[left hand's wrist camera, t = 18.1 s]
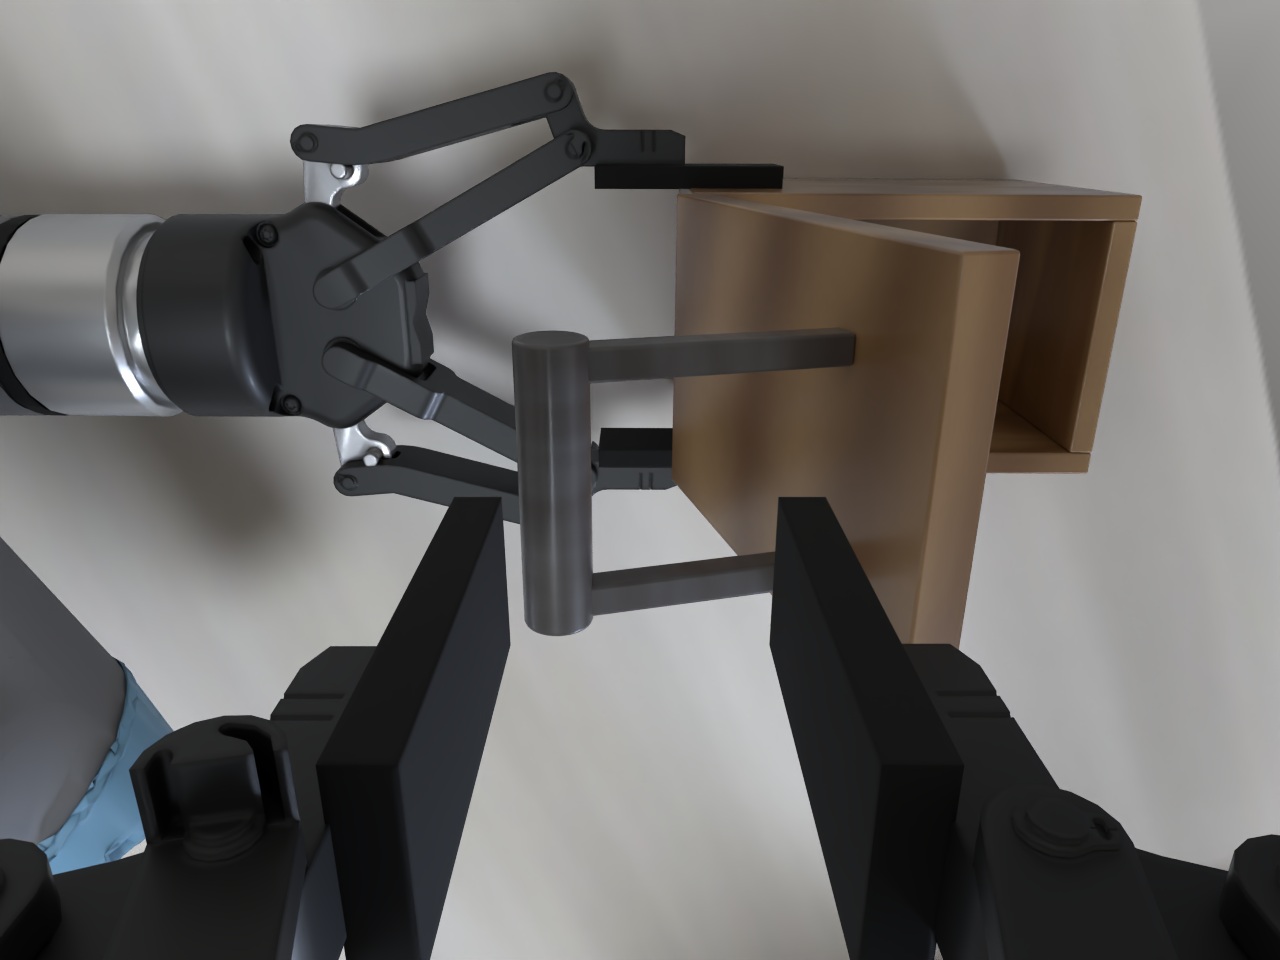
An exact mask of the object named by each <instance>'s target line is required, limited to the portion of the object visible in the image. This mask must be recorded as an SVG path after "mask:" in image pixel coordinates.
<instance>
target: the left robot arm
mask: <svg viewBox="0 0 1280 960" xmlns="http://www.w3.org/2000/svg"><path fill="white" fill-rule="evenodd" d="M509 648H510V629H509V612H508V596H507V579H506V562H505V545H504V528H503V511H502V497H454V498H453V500H452V502H451V504H450V506H449V508H448V510H447V512H446V514H445V516H444V518H443V520H442V522H441V524H440V525H439V527H438V529H437V531H436V533H435V535H434V537H433V539H432V541H431V543H430V545H429V547H428V549H427V551H426V552H425V554H424V556H423V558H422V560H421V562H420V564H419V566H418V568H417V570H416V572H415V574H414V576H413V578H412V580H411V581H410V583H409V585H408V587H407V589H406V591H405V593H404V595H403V597H402V599H401V601H400V603H399V605H398V607H397V608H396V610H395V612H394V614H393V616H392V618H391V620H390V622H389V624H388V626H387V628H386V630H385V632H384V634H383V636H382V637H381V639H380V641H379V643H378V645H377V646H330V647H329V648H328V649H326V650H325V651H323V652H322V653H321V654H319V655H318V656H317V657H315V658H314V659H313V660H311V661H310V662H308V663H307V664H306V665H304V666H303V667H302V668H300V670H299V671H298V673H297V675H296V676H295V678H294V679H293V681H292V682H291V684H290V685H289V687H288V689H287V690H286V692H285V693H284V699H280V701H279V703H278V704H277V706H276V707H275V709H274V710H273V712H272V714H271V718H270V720H267V719H263V718H259V717H256V716H252V715H241V716H221V717H217V718H212V719H208V720H203V721H199V722H195V723H192V724H190V725H188V726H185V727H183V728H181V729H178V730H176V731H174V732H171V733H169V734H167V735H165V736H164V737H162V738H161V739H160V740H158V741H157V742H155V743H154V744H153V745H151V746H150V747H148V748H147V749H145V750H144V751H143V752H142V753H141V755H140V756H139V757H138V758H137V760H136V761H135V762H134V764H133V765H132V766H131V768H130V769H129V773H130V777H131V781H132V785H133V789H134V793H135V798H136V802H137V806H138V810H139V814H140V818H141V822H142V826H143V830H144V834H145V838H146V842H147V846H146V848H145V851H144V852H143V853H139V854H136V855H133V856H130V857H126V858H123V859H120V860H115V861H111V862H107V863H102V864H98V865H94V866H89V867H85V868H80V869H76V870H72V871H67V872H63V873H59V874H54V875H53V874H52V871H51V867H50V864H49V861H48V858H47V854H45V853H44V852H43V851H42V850H41V849H40V848H39V847H38V846H37V845H35V844H34V843H33V842H27V841H22V840H16V839H11V838H8V839H0V960H338V959H339V957H340V954H341V951H342V949H343V946H344V949H345V956H346V960H430V957H431V953H432V949H433V945H434V942H435V938H436V934H437V930H438V926H439V922H440V918H441V914H442V910H443V906H444V902H445V899H446V895H447V891H448V887H449V883H450V879H451V875H452V871H453V867H454V863H455V859H456V856H457V852H458V848H459V844H460V840H461V836H462V832H463V828H464V824H465V820H466V816H467V813H468V809H469V805H470V801H471V797H472V793H473V789H474V785H475V781H476V777H477V773H478V770H479V766H480V762H481V758H482V754H483V750H484V746H485V742H486V738H487V734H488V730H489V727H490V723H491V719H492V715H493V711H494V707H495V703H496V699H497V695H498V691H499V687H500V684H501V680H502V676H503V672H504V668H505V664H506V660H507V656H508V652H509ZM770 648H771V652H772V656H773V660H774V664H775V668H776V672H777V676H778V680H779V684H780V687H781V691H782V695H783V699H784V703H785V707H786V711H787V715H788V719H789V723H790V727H791V730H792V734H793V738H794V742H795V746H796V750H797V754H798V758H799V762H800V766H801V770H802V773H803V777H804V781H805V785H806V789H807V793H808V797H809V801H810V805H811V809H812V813H813V816H814V820H815V824H816V828H817V832H818V836H819V840H820V844H821V848H822V852H823V856H824V859H825V863H826V867H827V871H828V875H829V879H830V883H831V887H832V891H833V895H834V899H835V902H836V906H837V910H838V914H839V918H840V922H841V926H842V930H843V934H844V938H845V942H846V945H847V949H848V953H849V957H850V960H934V956H935V949H936V943H937V944H938V947H939V950H940V952H941V955H942V958H943V960H1280V835H1272V834H1271V835H1266V836H1260V837H1255V838H1249V839H1247V840H1246V841H1245V842H1244V843H1243V844H1241V845H1240V846H1239V847H1238V848H1237V849H1236V850H1235V851H1234V854H1233V858H1232V861H1231V864H1230V867H1229V871H1225V870H1221V869H1216V868H1212V867H1207V866H1203V865H1199V864H1194V863H1190V862H1185V861H1181V860H1177V859H1172V858H1168V857H1163V856H1160V855H1157V854H1153V853H1150V852H1146V851H1143V850H1140V849H1137V848H1135V847H1134V844H1133V842H1132V841H1131V839H1130V838H1129V836H1128V835H1127V833H1126V832H1125V830H1124V829H1123V827H1122V826H1121V824H1120V823H1119V822H1118V821H1117V820H1116V819H1114V818H1113V817H1112V816H1111V815H1109V814H1108V813H1107V812H1106V811H1104V810H1103V809H1102V808H1101V807H1100V806H1098V805H1097V804H1095V803H1092V802H1090V801H1088V800H1086V799H1084V798H1082V797H1080V796H1078V795H1076V794H1074V793H1072V792H1069V791H1065V790H1061V789H1059V787H1058V786H1057V784H1056V783H1055V781H1054V779H1053V778H1052V776H1051V775H1050V773H1049V772H1048V770H1047V769H1046V767H1045V766H1044V764H1043V762H1042V761H1041V759H1040V758H1039V756H1038V755H1037V753H1036V752H1035V750H1034V748H1033V747H1032V745H1031V744H1030V742H1029V741H1028V739H1027V738H1026V736H1025V735H1024V733H1023V731H1022V730H1021V728H1020V727H1019V725H1018V724H1017V722H1016V721H1015V719H1014V718H1011V717H1010V711H1009V710H1008V708H1007V707H1006V705H1005V703H1004V702H1003V700H1002V699H1001V697H1000V696H997V694H996V690H995V688H994V686H993V685H992V683H991V682H990V680H989V679H988V677H987V676H986V674H985V672H984V671H983V669H982V668H981V666H980V665H979V664H977V663H976V662H975V661H973V660H972V659H970V658H969V657H968V656H966V655H965V654H964V653H962V652H961V651H959V650H958V649H957V648H955V647H954V646H953V645H951V644H902V643H901V641H900V639H899V637H898V636H897V634H896V632H895V630H894V628H893V626H892V624H891V622H890V620H889V618H888V616H887V614H886V612H885V610H884V608H883V607H882V605H881V603H880V601H879V599H878V597H877V595H876V593H875V591H874V589H873V587H872V585H871V583H870V581H869V580H868V578H867V576H866V574H865V572H864V570H863V568H862V566H861V564H860V562H859V560H858V558H857V556H856V554H855V552H854V551H853V549H852V547H851V545H850V543H849V541H848V539H847V537H846V535H845V533H844V531H843V529H842V527H841V525H840V524H839V522H838V520H837V518H836V516H835V514H834V512H833V510H832V508H831V506H830V504H829V502H828V500H827V498H826V497H778V511H777V528H776V545H775V562H774V579H773V596H772V612H771V629H770Z"/></svg>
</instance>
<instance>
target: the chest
mask: <svg viewBox="0 0 1280 960" xmlns="http://www.w3.org/2000/svg"><path fill="white" fill-rule="evenodd" d="M680 194H715V195H720V196H726V197H731V198H737V199H742V200H748V201H753V202H759V203H764V204H770V205H775V206H781V207H786V208H792V209H797V210H803V211H808V212H813V213H819V214H824V215H830V216H835V217H841V218H846V219H852V220H857V221H863V222H868V223H874V224H879V225H885V226H890V227H896V228H901V229H907V230H912V231H917V232H923V233H928V234H934V235H939V236H945V237H950V238H956V239H961V240H967V241H972V242H978V243H983V244H989V245H994V246H1000V247H1005V248H1011V249H1016V250H1018V251H1019V252H1020V259H1019V265H1018V271H1017V278H1016V284H1015V291H1014V297H1013V304H1012V310H1011V316H1010V323H1009V329H1008V336H1007V342H1006V349H1005V355H1004V361H1003V368H1002V374H1001V381H1000V387H999V393H998V400H997V406H996V413H995V419H994V426H993V432H992V438H991V445H990V451H989V458H988V464H987V470H986V473H1064V474H1085V473H1087V471H1088V466H1089V461H1090V456H1091V455H1090V452H1091V451H1092V447H1093V442H1094V437H1095V432H1096V427H1097V422H1098V417H1099V412H1100V407H1101V402H1102V397H1103V392H1104V387H1105V382H1106V377H1107V372H1108V367H1109V362H1110V356H1111V351H1112V346H1113V341H1114V336H1115V331H1116V326H1117V321H1118V316H1119V311H1120V306H1121V301H1122V296H1123V291H1124V286H1125V281H1126V276H1127V271H1128V266H1129V261H1130V256H1131V251H1132V246H1133V241H1134V236H1135V231H1136V226H1137V222H1135V221H1136V220H1137V219H1138V215H1139V210H1140V205H1141V200H1142V196H1140V195H1134V194H1126V193H1118V192H1110V191H1102V190H1094V189H1086V188H1077V187H1069V186H1061V185H1053V184H1045V183H1037V182H1029V181H1021V180H973V179H823V178H783V187H782V189H737V188H691V189H680Z"/></svg>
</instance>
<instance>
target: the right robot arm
mask: <svg viewBox="0 0 1280 960" xmlns="http://www.w3.org/2000/svg"><path fill="white" fill-rule="evenodd" d="M545 117H546V118H547V121H548V123H549V126H550V129H551V132H552V134H553V137H554V139H553V140H552V141H550V142H548V143H547V144H545V145H543V146H541V147H540V148H538V149H536V150H535V151H533V152H531V153H530V154H528V155H526V156H525V157H523V158H521V159H520V160H518V161H516V162H515V163H513V164H511V165H510V166H508V167H506V168H504V169H503V170H501V171H499V172H498V173H496V174H494V175H493V176H491V177H489V178H488V179H486V180H484V181H483V182H481V183H479V184H478V185H476V186H474V187H472V188H471V189H469V190H467V191H466V192H464V193H462V194H461V195H459V196H457V197H456V198H454V199H452V200H451V201H449V202H447V203H446V204H444V205H442V206H440V207H439V208H437V209H435V210H434V211H432V212H430V213H429V214H427V215H425V216H424V217H422V218H420V219H419V220H417V221H415V222H413V223H411V224H410V225H408V226H406V227H404V228H402V229H401V230H399V231H397V232H396V233H394V234H392V235H391V236H389V237H387V236H385V235H384V234H382V233H381V232H380V231H378V230H377V229H375V228H374V227H372V226H371V225H370V224H368V223H367V222H365V221H364V220H362V219H361V218H360V217H358V216H357V215H355V214H354V213H352V212H351V211H350V210H348V209H347V208H345V207H344V206H342V205H341V204H340V198H341V195H342V193H343V192H344V191H345V190H346V189H347V188H349V187H352V186H357V185H360V184H362V183H364V181H365V180H366V179H367V177H368V173H369V164H375V163H383V162H390V161H394V160H399V159H403V158H406V157H410V156H413V155H417V154H420V153H424V152H427V151H430V150H434V149H437V148H441V147H444V146H448V145H451V144H455V143H458V142H462V141H465V140H469V139H472V138H476V137H479V136H482V135H486V134H489V133H493V132H496V131H500V130H503V129H507V128H510V127H514V126H517V125H521V124H524V123H528V122H531V121H534V120H538V119H541V118H545ZM290 143H291V147H292V150H293V151H294V153H295V154H296V155H297V156H298V157H299V158H300V159H302V160H303V171H304V195H305V204H302V205H300V206H299V207H297V208H295V209H294V210H292V211H291V212H289V213H286V214H278V215H241V214H180V215H175V216H172V217H170V218H169V219H167V220H165V219H163V218H160V217H158V216H156V215H153V214H42V215H23V216H0V415H95V416H174V415H176V414H179V413H181V412H183V411H184V412H186V413H188V414H190V415H194V416H268V417H281V416H303V417H308V418H311V419H314V420H316V421H319V422H321V423H322V424H324V425H326V426H329V427H332V428H333V431H334V435H335V440H336V445H337V449H338V454H339V459H340V463H341V468H340V469H339V470H338V471H337V472H336V474H335V476H334V485H335V488H336V489H337V490H338V491H339V492H340V493H341V494H344V495H346V496H361V495H374V494H387V493H396V494H400V495H404V496H408V497H412V498H416V499H420V500H424V501H428V502H432V503H436V504H440V505H444V506H448V507H449V506H450V504H451V502H452V500H453V498H454V497H502V511H503V520H505V521H509V522H513V523H517V524H520V508H519V486H518V472H517V471H513V470H509V469H505V468H501V467H497V466H493V465H489V464H485V463H481V462H477V461H473V460H469V459H465V458H461V457H457V456H453V455H449V454H445V453H441V452H437V451H434V450H430V449H426V448H421V447H416V446H406V445H396V444H395V442H394V440H393V439H392V438H391V437H390V436H388V435H386V434H383V433H377V432H374V431H372V430H371V429H370V428H368V426H367V425H366V423H365V421H364V419H365V418H367V417H368V416H369V415H371V414H372V413H373V412H375V411H376V410H377V409H379V408H380V407H381V406H383V405H384V404H385V403H387V402H388V403H390V404H392V405H394V406H396V407H398V408H400V409H401V410H403V411H405V412H407V413H409V414H411V415H413V416H415V417H418V418H421V419H428V420H434V421H436V422H438V423H440V424H442V425H444V426H446V427H448V428H450V429H452V430H454V431H456V432H458V433H460V434H462V435H464V436H466V437H468V438H470V439H471V440H473V441H475V442H477V443H479V444H481V445H483V446H485V447H487V448H489V449H491V450H493V451H495V452H497V453H499V454H501V455H503V456H505V457H507V458H509V459H511V460H513V461H515V462H517V443H516V421H515V407H514V406H512V405H511V404H509V403H507V402H505V401H503V400H501V399H499V398H497V397H495V396H493V395H491V394H489V393H487V392H485V391H484V390H482V389H480V388H478V387H476V386H474V385H472V384H470V383H468V382H466V381H464V380H462V379H460V378H459V377H457V376H456V375H455V373H454V372H453V371H452V370H451V369H449V368H447V367H446V366H444V365H442V364H440V363H438V362H436V361H434V360H432V359H430V356H431V355H432V354H433V353H434V347H433V334H432V331H431V328H430V325H429V322H428V319H427V316H426V307H427V302H428V296H429V285H428V273H423V270H422V268H421V266H420V264H419V263H418V261H420V260H421V259H423V258H425V257H427V256H428V255H430V254H432V253H433V252H435V251H437V250H438V249H440V248H442V247H444V246H445V245H447V244H449V243H450V242H452V241H454V240H456V239H457V238H459V237H461V236H462V235H464V234H466V233H468V232H469V231H471V230H473V229H474V228H476V227H478V226H480V225H481V224H483V223H485V222H486V221H488V220H490V219H492V218H493V217H495V216H497V215H498V214H500V213H502V212H504V211H505V210H507V209H509V208H510V207H512V206H514V205H515V204H517V203H519V202H521V201H522V200H524V199H526V198H527V197H529V196H531V195H533V194H534V193H536V192H538V191H539V190H541V189H543V188H545V187H546V186H548V185H550V184H551V183H553V182H555V181H557V180H558V179H560V178H562V177H563V176H565V175H567V174H569V173H570V172H572V171H574V170H575V169H577V168H579V167H581V166H595V189H691V188H737V189H782V187H783V170H784V166H780V165H775V164H685V136H684V135H681V134H679V133H677V132H674V131H672V130H603V129H598V128H596V127H594V126H593V125H591V124H590V123H589V121H588V120H587V119H586V117H585V115H584V112H583V109H582V107H581V104H580V101H579V98H578V95H577V92H576V88H575V86H574V84H573V83H572V82H571V81H570V80H569V79H568V78H567V77H565V76H564V75H563V74H560V73H557V72H550V73H546V74H542V75H539V76H536V77H532V78H529V79H525V80H522V81H519V82H515V83H512V84H508V85H505V86H501V87H498V88H495V89H491V90H488V91H484V92H481V93H478V94H474V95H471V96H467V97H464V98H461V99H457V100H454V101H450V102H447V103H443V104H440V105H437V106H433V107H430V108H426V109H423V110H420V111H416V112H413V113H409V114H406V115H403V116H399V117H396V118H392V119H389V120H385V121H382V122H379V123H375V124H372V125H368V126H365V127H362V128H357V127H347V126H337V125H317V124H305V125H300V126H298V127H296V128H295V129H294V130H293V132H292V134H291V139H290ZM672 442H673V428H601V434H600V442H599V447H598V445H597V444H596V443H595V442H594V441H593V442H592V444H591V492H592V496H593V495H594V494H595V493H596V492H598V491H601V490H606V489H635V490H639V489H642V490H650V489H652V490H666V489H669V488H671V487H674V486H677V485H676V483H675V482H674V481H673V480H672ZM171 732H174V731H173V730H172V728H171V727H170V726H169V724H168V723H167V722H166V721H165V719H164V718H163V717H162V715H161V714H160V713H159V711H158V710H157V709H156V707H155V706H154V705H153V703H152V702H151V701H150V700H149V698H148V697H147V696H146V694H145V693H144V692H143V690H142V689H141V688H140V686H139V685H138V684H137V683H136V680H135V678H134V676H133V674H132V673H131V671H130V670H129V669H128V668H127V667H126V666H125V664H124V663H122V662H121V661H119V660H117V659H115V658H114V657H112V656H111V655H110V654H109V653H108V652H107V651H106V650H105V649H104V648H103V647H102V646H101V644H100V643H99V642H98V641H97V640H96V639H95V638H94V637H93V636H92V635H91V634H90V633H89V632H88V631H87V629H86V628H85V627H84V626H83V625H82V624H81V623H80V622H79V621H78V620H77V619H76V618H75V617H74V615H73V614H72V613H71V612H70V611H69V610H68V609H67V608H66V607H65V606H64V605H63V604H62V603H61V602H60V600H59V599H58V598H57V597H56V596H55V595H54V594H53V593H52V592H51V591H50V590H49V589H48V588H47V587H46V585H45V584H44V583H43V582H42V581H41V580H40V579H39V578H38V577H37V576H36V575H35V574H34V573H33V571H32V570H31V569H30V568H29V567H28V566H27V565H26V564H25V563H24V562H23V561H22V560H21V559H20V558H19V556H18V555H17V554H16V553H15V552H14V551H13V550H12V549H11V548H10V547H9V546H8V545H7V544H6V543H5V541H4V540H3V539H2V538H1V537H0V839H8V838H11V839H16V840H22V841H27V842H33V843H34V844H35V845H37V846H38V847H39V848H40V849H41V850H42V851H43V852H44V853H45V854H47V858H48V861H49V864H50V867H51V871H52V874H53V875H54V874H59V873H63V872H67V871H72V870H76V869H80V868H85V867H89V866H94V865H98V864H102V863H107V862H111V861H115V860H120V859H121V857H122V856H123V855H124V854H126V853H127V852H128V851H129V850H130V849H132V848H133V847H134V846H136V845H137V844H139V843H141V842H142V841H143V840H144V839H145V834H144V830H143V826H142V822H141V818H140V814H139V810H138V806H137V802H136V798H135V793H134V789H133V785H132V781H131V777H130V773H129V769H130V768H131V766H132V765H133V764H134V762H135V761H136V760H137V758H138V757H139V756H140V755H141V753H142V752H143V751H144V750H145V749H147V748H148V747H150V746H151V745H153V744H154V743H155V742H157V741H158V740H160V739H161V738H162V737H164V736H165V735H167V734H169V733H171Z"/></svg>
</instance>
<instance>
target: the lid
mask: <svg viewBox="0 0 1280 960" xmlns="http://www.w3.org/2000/svg"><path fill="white" fill-rule="evenodd" d="M1019 259H1020V252H1019V251H1018V250H1016V249H1011V248H1005V247H1000V246H994V245H989V244H983V243H978V242H972V241H967V240H961V239H956V238H950V237H945V236H939V235H934V234H928V233H923V232H917V231H912V230H907V229H901V228H896V227H890V226H885V225H879V224H874V223H868V222H863V221H857V220H852V219H846V218H841V217H835V216H830V215H824V214H819V213H813V212H808V211H803V210H797V209H792V208H786V207H781V206H775V205H770V204H764V203H759V202H753V201H748V200H742V199H737V198H731V197H726V196H720V195H715V194H678V198H677V247H676V296H675V336H666V337H648V338H629V339H610V340H591V341H589V339H588V338H587V337H586V336H584V335H582V334H579V333H574V332H567V331H538V332H530V333H525V334H522V335H519V336H517V337H515V338H514V339H513V341H512V356H513V377H514V399H515V421H516V443H517V464H518V486H519V508H520V530H521V552H522V573H523V595H524V617H525V622H526V624H527V626H528V627H529V628H530V629H531V630H533V631H535V632H537V633H540V634H543V635H549V636H565V635H570V634H574V633H577V632H580V631H582V630H584V629H585V628H587V627H588V626H589V625H590V623H591V621H592V619H593V616H595V615H603V614H610V613H618V612H625V611H633V610H640V609H648V608H655V607H663V606H670V605H678V604H685V603H693V602H700V601H708V600H716V599H723V598H731V597H738V596H746V595H753V594H761V593H768V592H770V593H771V595H772V596H773V579H774V562H775V545H776V528H777V511H778V497H826V498H827V500H828V502H829V504H830V506H831V508H832V510H833V512H834V514H835V516H836V518H837V520H838V522H839V524H840V525H841V527H842V529H843V531H844V533H845V535H846V537H847V539H848V541H849V543H850V545H851V547H852V549H853V551H854V552H855V554H856V556H857V558H858V560H859V562H860V564H861V566H862V568H863V570H864V572H865V574H866V576H867V578H868V580H869V581H870V583H871V585H872V587H873V589H874V591H875V593H876V595H877V597H878V599H879V601H880V603H881V605H882V607H883V608H884V610H885V612H886V614H887V616H888V618H889V620H890V622H891V624H892V626H893V628H894V630H895V632H896V634H897V636H898V637H899V639H900V641H901V643H902V644H951V645H953V646H954V647H955V648H957V649H958V650H959V644H960V637H961V631H962V625H963V618H964V612H965V605H966V599H967V592H968V586H969V580H970V573H971V567H972V560H973V554H974V548H975V541H976V535H977V528H978V522H979V515H980V509H981V503H982V496H983V490H984V483H985V477H986V470H987V464H988V458H989V451H990V445H991V438H992V432H993V426H994V419H995V413H996V406H997V400H998V393H999V387H1000V381H1001V374H1002V368H1003V361H1004V355H1005V349H1006V342H1007V336H1008V329H1009V323H1010V316H1011V310H1012V304H1013V297H1014V291H1015V284H1016V278H1017V271H1018V265H1019ZM663 378H674V394H673V442H672V480H673V481H674V482H675V483H676V485H677V486H678V487H679V488H680V489H681V490H682V491H683V493H684V494H685V495H686V496H687V497H688V498H689V500H690V501H691V502H692V503H693V504H694V505H695V507H696V508H697V509H698V510H699V511H700V512H701V514H702V515H703V516H704V517H705V518H706V519H707V520H708V522H709V523H710V524H711V525H712V526H713V527H714V529H715V530H716V531H717V532H718V533H719V534H720V536H721V537H722V538H723V539H724V540H725V541H726V542H727V544H728V545H729V546H730V547H731V548H732V549H733V551H734V552H735V553H736V554H737V555H738V556H732V557H724V558H716V559H707V560H699V561H691V562H683V563H674V564H666V565H658V566H649V567H641V568H633V569H624V570H616V571H608V572H600V573H593V562H592V492H591V422H590V383H602V382H617V381H633V380H648V379H663Z"/></svg>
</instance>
